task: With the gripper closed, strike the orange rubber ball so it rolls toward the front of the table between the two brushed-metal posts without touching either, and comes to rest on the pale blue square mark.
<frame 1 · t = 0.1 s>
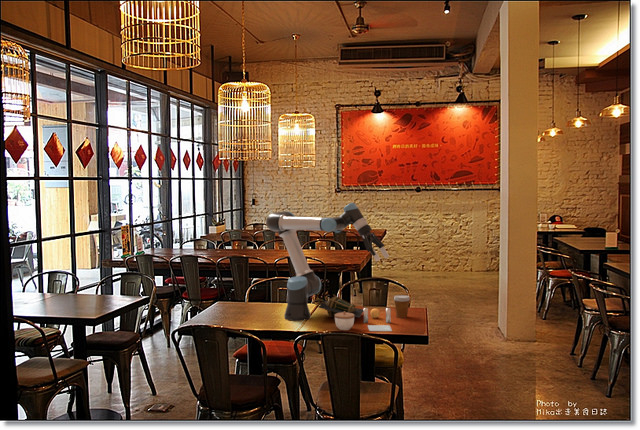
hand: (383, 258, 321), 36 cm above the table, fingers open, 13 cm apart
disposable coffee cup: (401, 317, 336), on the table
lantern: (336, 317, 335), on the table
post left: (365, 322, 322), on the table
ball: (374, 313, 333), on the table
lidded jar: (344, 329, 308), on the table
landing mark: (379, 328, 309), on the table
post right: (388, 322, 322), on the table
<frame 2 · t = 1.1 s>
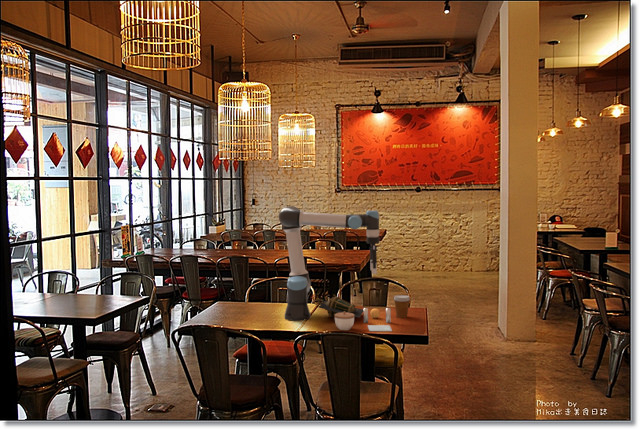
hand: (373, 272, 341), 25 cm above the table, fingers open, 13 cm apart
nothing on the table moved.
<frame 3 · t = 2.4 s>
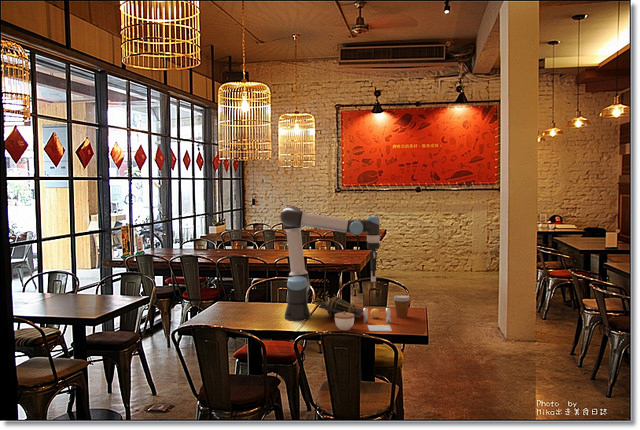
hand: (373, 281, 343), 19 cm above the table, fingers closed
nothing on the table moved.
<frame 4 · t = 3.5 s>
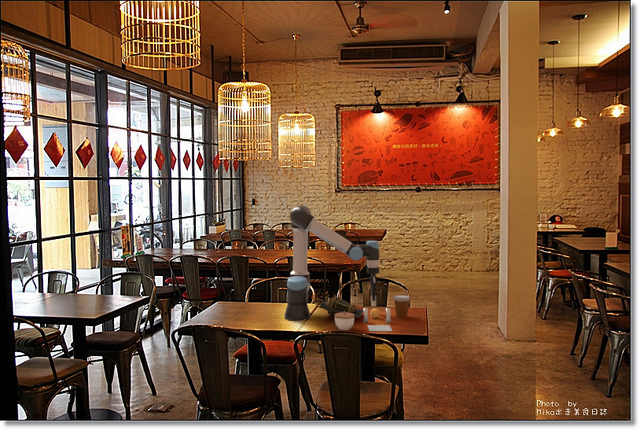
hand: (373, 305, 344), 5 cm above the table, fingers closed
nothing on the table moved.
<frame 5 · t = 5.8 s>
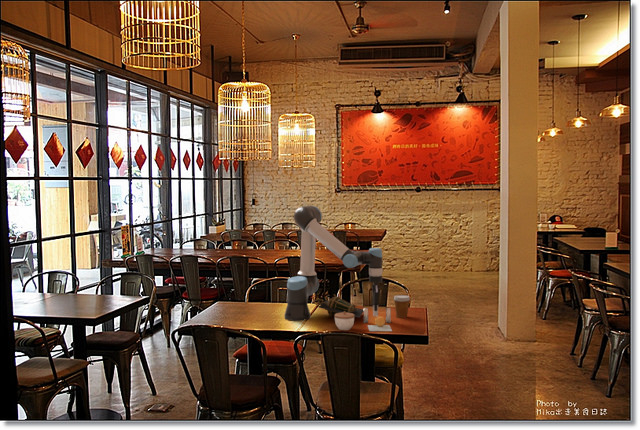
hand: (375, 315, 330), 2 cm above the table, fingers closed
ball: (380, 321, 313), on the table
everything else where it was.
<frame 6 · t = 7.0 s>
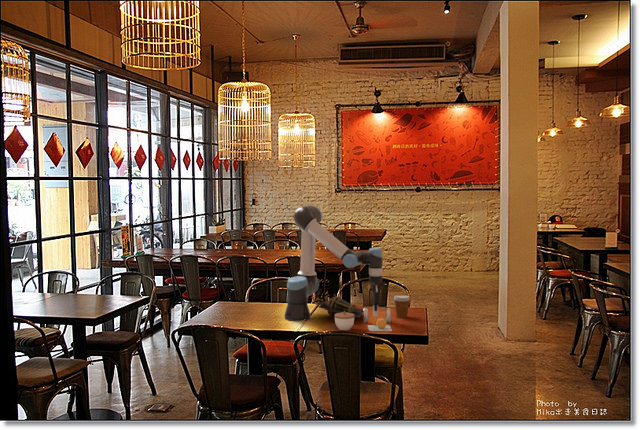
hand: (375, 315, 330), 2 cm above the table, fingers closed
ball: (381, 323, 309), on the table
everything else where it was.
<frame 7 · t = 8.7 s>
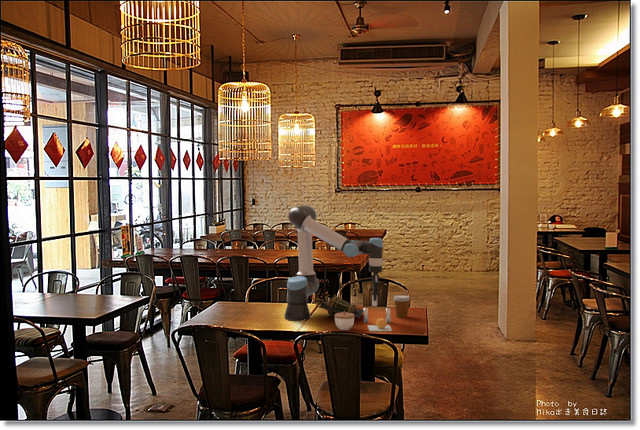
hand: (374, 305, 330), 8 cm above the table, fingers closed
nothing on the table moved.
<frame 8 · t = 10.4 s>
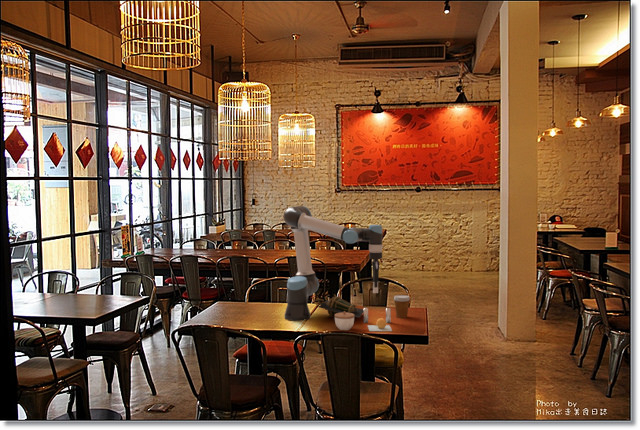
hand: (375, 292, 329), 15 cm above the table, fingers closed
nothing on the table moved.
at the end: ball 0.9 cm from the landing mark (horizontally); ball never touched post left; ball never touched post right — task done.
